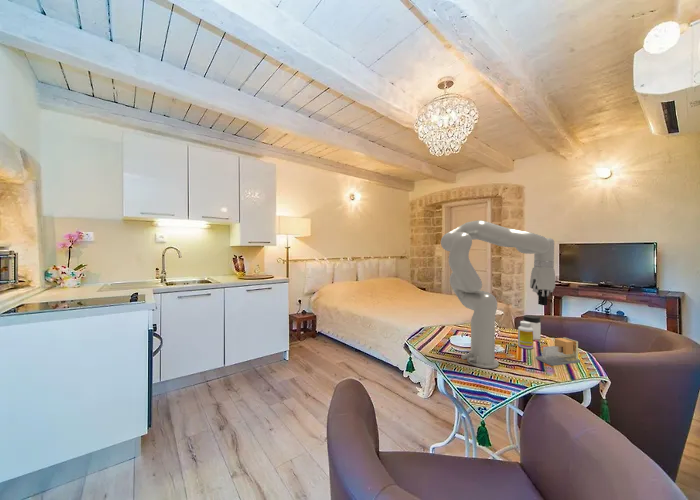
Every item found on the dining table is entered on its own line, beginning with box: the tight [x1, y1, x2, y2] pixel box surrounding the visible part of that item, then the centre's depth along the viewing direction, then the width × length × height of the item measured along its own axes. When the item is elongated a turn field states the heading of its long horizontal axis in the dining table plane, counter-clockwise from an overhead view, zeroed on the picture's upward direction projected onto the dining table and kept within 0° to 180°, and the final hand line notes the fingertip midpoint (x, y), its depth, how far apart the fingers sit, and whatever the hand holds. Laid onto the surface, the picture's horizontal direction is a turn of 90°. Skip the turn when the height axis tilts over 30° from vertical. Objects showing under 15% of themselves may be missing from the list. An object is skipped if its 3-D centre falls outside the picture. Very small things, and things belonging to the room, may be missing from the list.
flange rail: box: [535, 337, 581, 367], centre depth 128 cm, size 16×8×9 cm, turn 105°
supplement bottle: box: [517, 320, 534, 350], centre depth 146 cm, size 7×7×13 cm
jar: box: [522, 314, 542, 341], centre depth 162 cm, size 9×8×12 cm
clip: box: [554, 337, 573, 355], centre depth 129 cm, size 4×5×6 cm
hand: (542, 304), depth 130 cm, fingers closed
